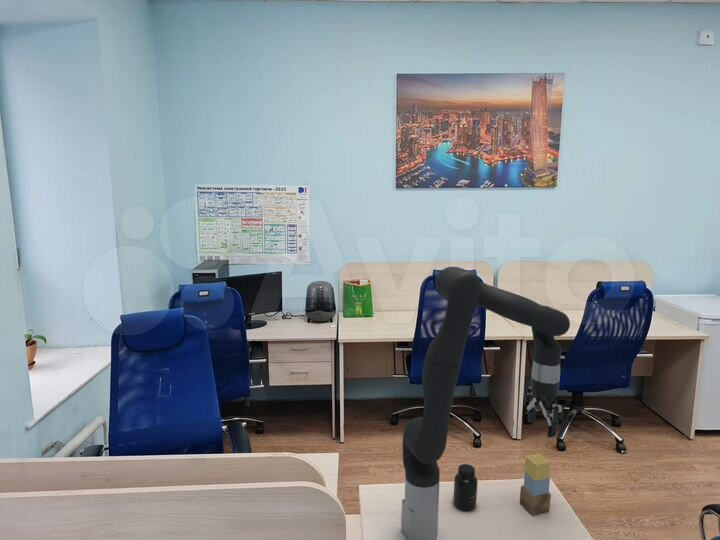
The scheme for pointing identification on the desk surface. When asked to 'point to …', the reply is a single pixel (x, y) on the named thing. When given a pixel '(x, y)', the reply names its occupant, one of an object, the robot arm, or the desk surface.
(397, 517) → the desk surface
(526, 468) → the top block
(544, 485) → the tower mid
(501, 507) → the desk surface
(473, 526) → the desk surface
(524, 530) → the desk surface
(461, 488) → the supplement bottle
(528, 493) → the tower base
